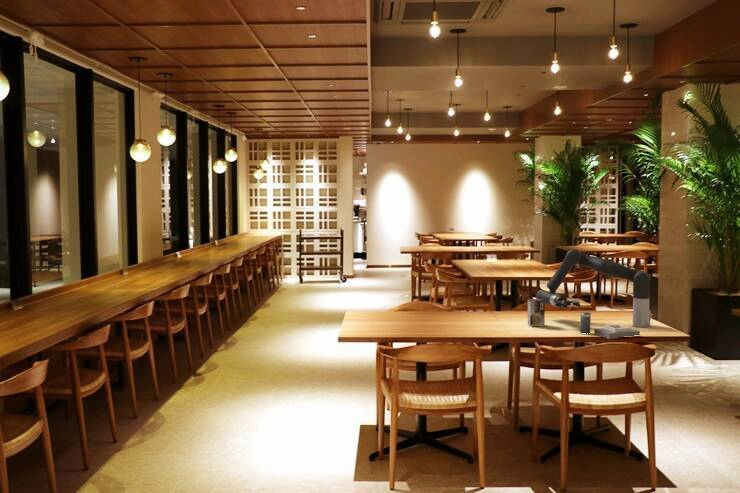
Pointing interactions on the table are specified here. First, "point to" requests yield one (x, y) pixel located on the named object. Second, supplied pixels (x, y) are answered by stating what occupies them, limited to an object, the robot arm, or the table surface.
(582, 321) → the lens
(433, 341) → the table surface
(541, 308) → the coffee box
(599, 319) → the table surface
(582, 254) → the robot arm
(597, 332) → the grey flat block
